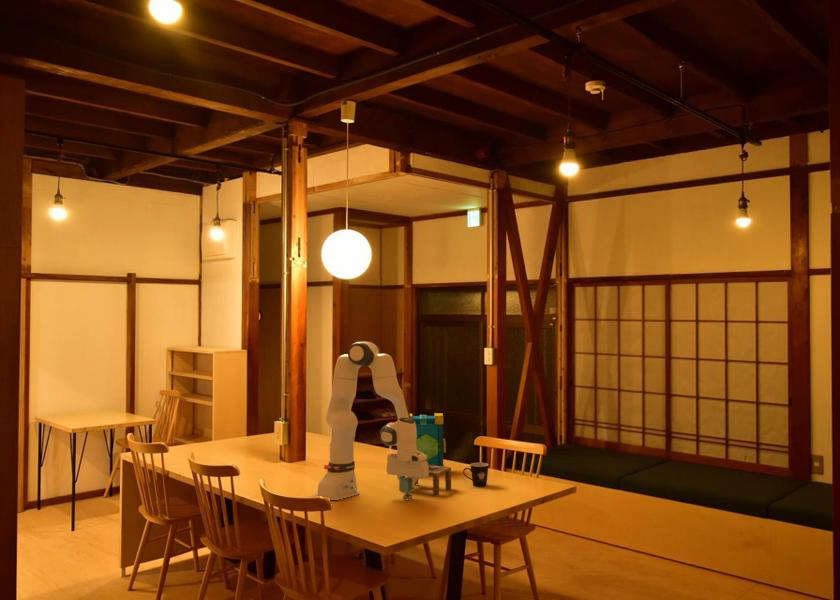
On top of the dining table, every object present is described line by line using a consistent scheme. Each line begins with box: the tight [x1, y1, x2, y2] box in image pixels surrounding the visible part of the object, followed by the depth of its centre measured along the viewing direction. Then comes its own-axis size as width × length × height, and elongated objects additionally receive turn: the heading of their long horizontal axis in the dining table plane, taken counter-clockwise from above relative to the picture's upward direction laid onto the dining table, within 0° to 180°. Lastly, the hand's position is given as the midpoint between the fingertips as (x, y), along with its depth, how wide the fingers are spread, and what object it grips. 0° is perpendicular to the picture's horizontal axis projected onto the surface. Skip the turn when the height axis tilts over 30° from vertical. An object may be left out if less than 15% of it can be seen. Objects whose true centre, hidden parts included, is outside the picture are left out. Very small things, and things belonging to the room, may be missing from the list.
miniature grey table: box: [398, 465, 452, 496], centre depth 318 cm, size 20×14×10 cm
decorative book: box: [410, 412, 447, 476], centre depth 353 cm, size 14×23×30 cm, turn 90°
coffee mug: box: [462, 462, 489, 488], centre depth 325 cm, size 12×9×10 cm
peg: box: [400, 476, 416, 500], centre depth 302 cm, size 6×4×9 cm, turn 150°
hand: (407, 486), depth 302 cm, fingers closed on peg, 4 cm apart
